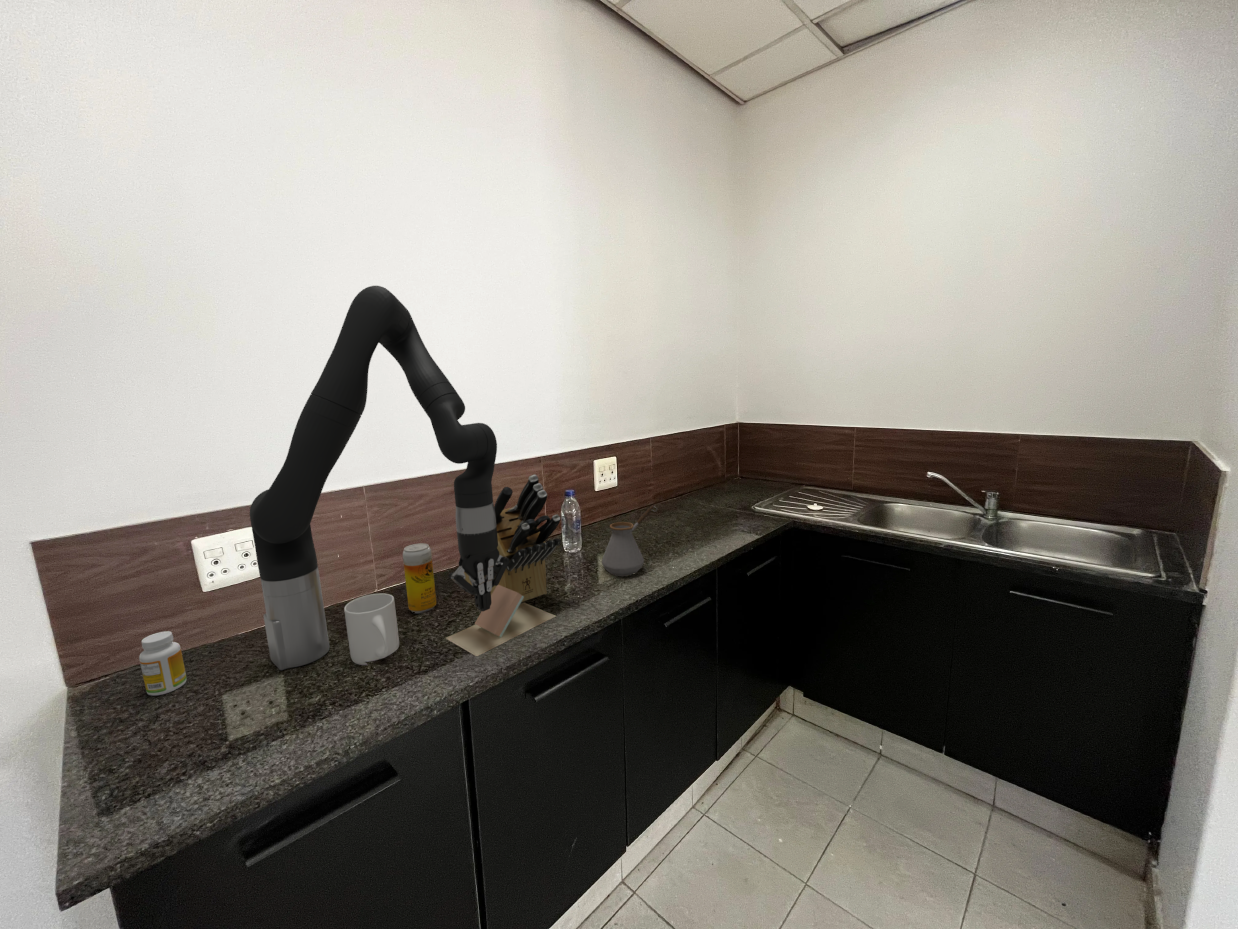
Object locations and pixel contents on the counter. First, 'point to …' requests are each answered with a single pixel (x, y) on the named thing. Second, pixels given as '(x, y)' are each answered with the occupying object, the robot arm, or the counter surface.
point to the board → (483, 640)
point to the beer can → (419, 577)
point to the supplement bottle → (162, 664)
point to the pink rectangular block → (499, 610)
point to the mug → (371, 627)
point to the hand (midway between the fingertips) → (484, 609)
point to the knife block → (524, 540)
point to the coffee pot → (623, 549)
